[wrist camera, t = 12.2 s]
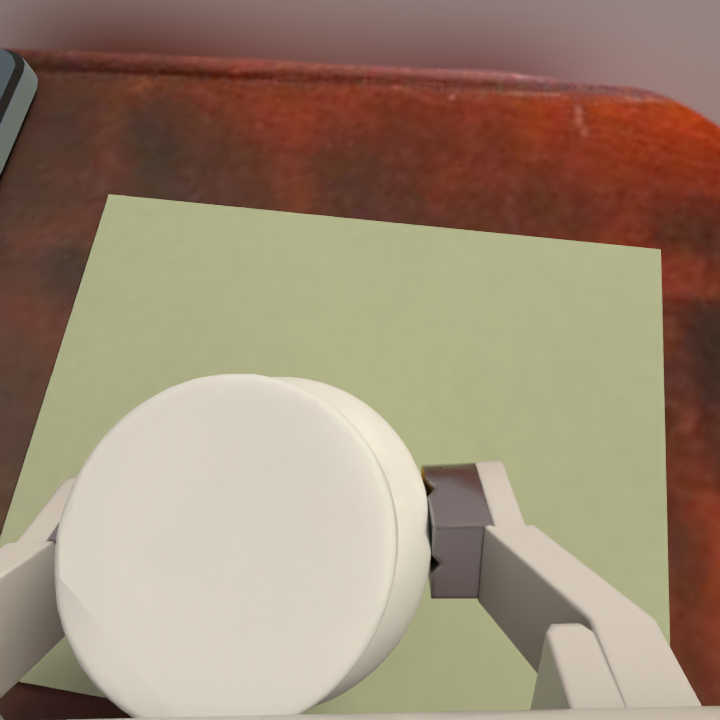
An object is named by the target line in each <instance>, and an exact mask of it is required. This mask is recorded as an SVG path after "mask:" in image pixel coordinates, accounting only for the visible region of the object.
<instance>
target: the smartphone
mask: <svg viewBox="0 0 720 720" xmlns="http://www.w3.org/2000/svg"><path fill="white" fill-rule="evenodd" d="M37 84H38V79H37V76H36V74H35V73H34V72H33V70H32V69H31V68H30V66H29V65H28V64H27V63H26V61H25V60H24V59H23V57H22V56H21V55H20V54H19V53H16V52H13V51H9V50H2V49H0V175H1V172H2V170H3V168H4V165H5V163H6V160H7V158H8V156H9V153H10V151H11V149H12V146H13V144H14V142H15V139H16V137H17V134H18V132H19V130H20V127H21V125H22V123H23V120H24V118H25V116H26V113H27V111H28V109H29V106H30V104H31V101H32V99H33V97H34V94H35V92H36V89H37Z"/></svg>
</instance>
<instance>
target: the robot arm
mask: <svg viewBox="0 0 720 720" xmlns="http://www.w3.org/2000/svg"><path fill="white" fill-rule="evenodd" d="M421 478H422V481H423V484H424V487H425V490H426V495H427V499H428V507H429V517H430V530H431V559H430V568H429V572H428V579H429V586H430V593H431V599H478V601H479V603H480V604H481V605H482V606H483V608H484V609H485V610H486V611H487V612H488V614H489V615H490V616H491V617H492V619H493V620H494V621H495V622H496V623H497V625H498V626H499V627H500V628H501V630H502V631H503V632H504V633H505V634H506V636H507V637H508V638H509V639H510V641H511V642H512V643H513V644H514V645H515V647H516V648H517V649H518V650H519V652H520V653H521V654H522V655H523V656H524V658H525V659H526V660H527V661H528V663H529V664H530V665H531V666H532V668H533V669H534V670H535V671H536V672H537V679H536V684H535V689H534V694H533V698H532V703H531V708H530V710H493V711H445V712H397V713H350V714H303V715H255V716H209V717H162V718H115V719H68V720H720V706H701V704H700V702H699V700H698V698H697V697H696V695H695V693H694V691H693V689H692V687H691V685H690V684H689V682H688V680H687V678H686V676H685V674H684V672H683V671H682V669H681V667H680V665H679V663H678V661H677V660H676V658H675V656H674V654H673V652H672V650H671V648H670V647H669V645H668V643H667V641H666V639H665V637H664V636H663V634H662V632H661V630H660V628H659V626H658V624H657V623H656V621H655V619H654V618H652V617H651V616H650V615H648V614H647V613H646V612H645V611H643V610H642V609H641V608H639V607H638V606H637V605H636V604H634V603H633V602H632V601H630V600H629V599H628V598H627V597H625V596H624V595H623V594H622V593H620V592H619V591H618V590H616V589H615V588H614V587H613V586H611V585H610V584H609V583H607V582H606V581H605V580H604V579H602V578H601V577H600V576H598V575H597V574H596V573H595V572H593V571H592V570H591V569H589V568H588V567H587V566H586V565H584V564H583V563H582V562H581V561H579V560H578V559H577V558H575V557H574V556H573V555H572V554H570V553H569V552H568V551H566V550H565V549H564V548H563V547H561V546H560V545H559V544H557V543H556V542H555V541H554V540H552V539H551V538H550V537H549V536H547V535H546V534H545V533H543V532H542V531H541V530H540V529H538V528H537V527H536V526H534V525H525V522H524V520H523V517H522V514H521V512H520V509H519V506H518V503H517V501H516V498H515V495H514V493H513V490H512V487H511V485H510V482H509V479H508V476H507V474H506V471H505V468H504V466H503V464H502V463H501V462H500V461H483V462H473V463H452V464H430V465H422V467H421ZM75 479H76V477H71V478H69V479H67V480H65V481H63V482H62V484H61V485H60V486H59V488H58V489H57V490H56V491H55V493H54V494H53V495H52V497H51V498H50V499H49V501H48V502H47V503H46V504H45V506H44V507H43V508H42V510H41V511H40V512H39V514H38V515H37V516H36V517H35V519H34V520H33V521H32V523H31V524H30V525H29V527H28V528H27V529H26V530H25V532H24V533H23V534H22V536H21V537H20V538H19V540H18V541H17V542H16V543H7V544H5V545H4V546H2V547H0V699H1V698H2V697H3V696H4V695H5V694H6V693H7V692H8V691H9V690H10V689H11V688H12V687H13V686H14V685H15V684H16V683H17V682H18V681H19V680H20V679H21V678H22V677H23V676H24V675H25V674H26V673H27V672H28V671H29V670H30V669H31V668H33V667H34V666H35V665H36V664H37V663H38V662H39V661H40V660H41V659H42V658H43V657H44V656H45V655H46V654H47V653H48V652H49V651H50V650H51V649H52V648H53V647H54V646H55V645H56V644H57V643H58V642H59V641H60V640H61V639H62V638H63V637H64V636H65V633H64V631H63V628H62V624H61V620H60V616H59V613H58V609H57V603H56V590H55V577H54V554H55V543H56V537H57V531H58V527H59V523H60V519H61V515H62V512H63V509H64V505H65V502H66V500H67V498H68V495H69V493H70V490H71V487H72V485H73V483H74V481H75ZM0 720H4V719H3V718H2V716H1V715H0Z"/></svg>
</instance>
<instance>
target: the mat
mask: <svg viewBox="0 0 720 720" xmlns="http://www.w3.org/2000/svg"><path fill="white" fill-rule="evenodd" d="M221 374H258V375H262V376H267V377H295V378H303V379H309V380H313V381H318V382H322V383H325V384H328V385H331V386H334V387H336V388H339V389H341V390H343V391H345V392H347V393H349V394H351V395H353V396H354V397H356V398H358V399H359V400H361V401H362V402H364V403H365V404H367V405H368V406H370V407H371V408H372V409H373V410H374V411H376V412H377V413H378V414H379V415H380V416H381V417H382V418H383V419H384V420H385V421H386V422H387V423H388V424H389V425H390V426H391V427H392V428H393V429H394V431H395V432H396V433H397V434H398V436H399V437H400V439H401V440H402V441H403V443H404V444H405V445H406V447H407V449H408V450H409V452H410V454H411V456H412V458H413V460H414V462H415V464H416V466H417V468H418V470H419V473H420V475H421V467H422V465H430V464H452V463H473V462H483V461H500V462H501V463H502V464H503V466H504V468H505V471H506V474H507V476H508V479H509V482H510V485H511V487H512V490H513V493H514V495H515V498H516V501H517V503H518V506H519V509H520V512H521V514H522V517H523V520H524V522H525V525H534V526H536V527H537V528H538V529H540V530H541V531H542V532H543V533H545V534H546V535H547V536H549V537H550V538H551V539H552V540H554V541H555V542H556V543H557V544H559V545H560V546H561V547H563V548H564V549H565V550H566V551H568V552H569V553H570V554H572V555H573V556H574V557H575V558H577V559H578V560H579V561H581V562H582V563H583V564H584V565H586V566H587V567H588V568H589V569H591V570H592V571H593V572H595V573H596V574H597V575H598V576H600V577H601V578H602V579H604V580H605V581H606V582H607V583H609V584H610V585H611V586H613V587H614V588H615V589H616V590H618V591H619V592H620V593H622V594H623V595H624V596H625V597H627V598H628V599H629V600H630V601H632V602H633V603H634V604H636V605H637V606H638V607H639V608H641V609H642V610H643V611H645V612H646V613H647V614H648V615H650V616H651V617H652V618H654V619H655V621H656V623H657V624H658V626H659V628H660V630H661V632H662V634H663V636H664V637H665V639H666V641H667V643H668V645H669V647H670V627H669V584H668V540H667V497H666V454H665V410H664V367H663V323H662V280H661V250H660V249H650V248H640V247H630V246H620V245H610V244H600V243H590V242H580V241H570V240H560V239H550V238H540V237H530V236H520V235H510V234H500V233H490V232H480V231H470V230H460V229H450V228H440V227H430V226H420V225H410V224H400V223H390V222H380V221H370V220H360V219H350V218H340V217H330V216H320V215H310V214H300V213H290V212H280V211H270V210H260V209H250V208H240V207H230V206H220V205H210V204H200V203H190V202H180V201H170V200H160V199H150V198H140V197H130V196H120V195H110V194H109V195H108V198H107V201H106V205H105V208H104V211H103V214H102V217H101V220H100V224H99V227H98V230H97V233H96V236H95V239H94V243H93V246H92V249H91V252H90V255H89V258H88V262H87V265H86V268H85V271H84V274H83V277H82V280H81V284H80V287H79V290H78V293H77V296H76V299H75V303H74V306H73V309H72V312H71V315H70V318H69V322H68V325H67V328H66V331H65V334H64V337H63V341H62V344H61V347H60V350H59V353H58V356H57V360H56V363H55V366H54V369H53V372H52V375H51V378H50V382H49V385H48V388H47V391H46V394H45V397H44V401H43V404H42V407H41V410H40V413H39V416H38V420H37V423H36V426H35V429H34V432H33V435H32V439H31V442H30V445H29V448H28V451H27V454H26V458H25V461H24V464H23V467H22V470H21V473H20V477H19V480H18V483H17V486H16V489H15V492H14V495H13V499H12V502H11V505H10V508H9V511H8V514H7V518H6V521H5V524H4V527H3V530H2V533H1V537H0V547H2V546H4V545H5V544H7V543H16V542H17V541H18V540H19V538H20V537H21V536H22V534H23V533H24V532H25V530H26V529H27V528H28V527H29V525H30V524H31V523H32V521H33V520H34V519H35V517H36V516H37V515H38V514H39V512H40V511H41V510H42V508H43V507H44V506H45V504H46V503H47V502H48V501H49V499H50V498H51V497H52V495H53V494H54V493H55V491H56V490H57V489H58V488H59V486H60V485H61V484H62V482H63V481H65V480H67V479H69V478H71V477H77V475H78V474H79V472H80V470H81V468H82V466H83V465H84V463H85V462H86V460H87V459H88V457H89V456H90V454H91V452H92V451H93V449H94V448H95V447H96V446H97V444H98V443H99V442H100V441H101V440H102V439H103V437H104V436H105V435H106V434H107V433H108V432H109V431H110V430H111V429H112V428H113V427H114V426H115V425H116V424H117V423H118V422H119V421H120V420H121V419H122V418H123V417H124V416H125V415H127V414H128V413H129V412H130V411H132V410H133V409H134V408H135V407H137V406H138V405H140V404H142V403H143V402H145V401H146V400H148V399H150V398H151V397H153V396H155V395H157V394H158V393H160V392H162V391H164V390H166V389H168V388H170V387H173V386H175V385H178V384H181V383H184V382H187V381H190V380H193V379H196V378H201V377H207V376H213V375H221ZM536 679H537V672H536V671H535V670H534V669H533V668H532V666H531V665H530V664H529V663H528V661H527V660H526V659H525V658H524V656H523V655H522V654H521V653H520V652H519V650H518V649H517V648H516V647H515V645H514V644H513V643H512V642H511V641H510V639H509V638H508V637H507V636H506V634H505V633H504V632H503V631H502V630H501V628H500V627H499V626H498V625H497V623H496V622H495V621H494V620H493V619H492V617H491V616H490V615H489V614H488V612H487V611H486V610H485V609H484V608H483V606H482V605H481V604H480V603H479V601H478V599H431V593H430V586H429V579H428V577H427V581H426V585H425V589H424V593H423V596H422V598H421V601H420V603H419V606H418V608H417V610H416V613H415V615H414V617H413V619H412V621H411V623H410V625H409V627H408V629H407V630H406V632H405V634H404V635H403V637H402V639H401V640H400V642H399V643H398V644H397V646H396V647H395V648H394V649H393V651H392V652H391V653H390V654H389V656H388V657H387V658H386V659H385V660H384V661H383V662H382V663H381V664H380V666H379V667H378V668H377V669H376V670H374V671H373V672H372V673H371V674H370V675H369V676H367V677H366V678H365V679H364V680H362V681H361V682H360V683H358V684H357V685H356V686H354V687H353V688H351V689H349V690H348V691H346V692H345V693H343V694H341V695H339V696H337V697H336V698H334V699H332V700H329V701H327V702H324V703H322V704H320V705H316V706H314V707H312V708H311V709H309V710H307V711H306V712H304V713H302V714H301V715H303V714H350V713H397V712H445V711H493V710H530V708H531V703H532V698H533V694H534V689H535V684H536ZM18 682H23V683H28V684H34V685H39V686H44V687H50V688H55V689H60V690H66V691H71V692H76V693H82V694H87V695H92V696H98V697H103V698H107V697H106V696H105V695H104V694H103V693H102V692H101V691H100V690H99V689H98V688H97V687H96V686H95V685H94V684H93V682H92V681H91V680H90V678H89V677H88V676H87V674H86V673H85V672H84V670H83V669H82V668H81V666H80V665H79V663H78V661H77V659H76V657H75V655H74V653H73V651H72V649H71V647H70V645H69V643H68V641H67V639H66V636H64V637H63V638H62V639H61V640H60V641H59V642H58V643H57V644H56V645H55V646H54V647H53V648H52V649H51V650H50V651H49V652H48V653H47V654H46V655H45V656H44V657H43V658H42V659H41V660H40V661H39V662H38V663H37V664H36V665H35V666H34V667H33V668H31V669H30V670H29V671H28V672H27V673H26V674H25V675H24V676H23V677H22V678H21V679H20V680H19V681H18Z"/></svg>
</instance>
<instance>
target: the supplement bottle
mask: <svg viewBox="0 0 720 720" xmlns="http://www.w3.org/2000/svg"><path fill="white" fill-rule="evenodd" d="M430 559H431V530H430V517H429V507H428V499H427V495H426V490H425V487H424V484H423V481H422V478H421V475H420V473H419V470H418V468H417V466H416V464H415V462H414V460H413V458H412V456H411V454H410V452H409V450H408V449H407V447H406V445H405V444H404V443H403V441H402V440H401V439H400V437H399V436H398V434H397V433H396V432H395V431H394V429H393V428H392V427H391V426H390V425H389V424H388V423H387V422H386V421H385V420H384V419H383V418H382V417H381V416H380V415H379V414H378V413H377V412H376V411H374V410H373V409H372V408H371V407H370V406H368V405H367V404H365V403H364V402H362V401H361V400H359V399H358V398H356V397H354V396H353V395H351V394H349V393H347V392H345V391H343V390H341V389H339V388H336V387H334V386H331V385H328V384H325V383H322V382H318V381H313V380H309V379H303V378H295V377H267V376H262V375H258V374H221V375H213V376H207V377H201V378H196V379H193V380H190V381H187V382H184V383H181V384H178V385H175V386H173V387H170V388H168V389H166V390H164V391H162V392H160V393H158V394H157V395H155V396H153V397H151V398H150V399H148V400H146V401H145V402H143V403H142V404H140V405H138V406H137V407H135V408H134V409H133V410H132V411H130V412H129V413H128V414H127V415H125V416H124V417H123V418H122V419H121V420H120V421H119V422H118V423H117V424H116V425H115V426H114V427H113V428H112V429H111V430H110V431H109V432H108V433H107V434H106V435H105V436H104V437H103V439H102V440H101V441H100V442H99V443H98V444H97V446H96V447H95V448H94V449H93V451H92V452H91V454H90V456H89V457H88V459H87V460H86V462H85V463H84V465H83V466H82V468H81V470H80V472H79V474H78V475H77V477H76V479H75V481H74V483H73V485H72V487H71V490H70V493H69V495H68V498H67V500H66V502H65V505H64V509H63V512H62V515H61V519H60V523H59V527H58V531H57V537H56V543H55V554H54V577H55V590H56V603H57V609H58V613H59V616H60V620H61V624H62V628H63V631H64V633H65V636H66V639H67V641H68V643H69V645H70V647H71V649H72V651H73V653H74V655H75V657H76V659H77V661H78V663H79V665H80V666H81V668H82V669H83V670H84V672H85V673H86V674H87V676H88V677H89V678H90V680H91V681H92V682H93V684H94V685H95V686H96V687H97V688H98V689H99V690H100V691H101V692H102V693H103V694H104V695H105V696H106V697H107V698H108V699H109V700H110V701H111V702H112V703H114V704H115V705H116V706H117V707H119V708H120V709H121V710H122V711H124V712H125V713H127V714H128V715H129V716H131V717H132V718H162V717H209V716H255V715H301V714H302V713H304V712H306V711H307V710H309V709H311V708H312V707H314V706H316V705H320V704H322V703H324V702H327V701H329V700H332V699H334V698H336V697H337V696H339V695H341V694H343V693H345V692H346V691H348V690H349V689H351V688H353V687H354V686H356V685H357V684H358V683H360V682H361V681H362V680H364V679H365V678H366V677H367V676H369V675H370V674H371V673H372V672H373V671H374V670H376V669H377V668H378V667H379V666H380V664H381V663H382V662H383V661H384V660H385V659H386V658H387V657H388V656H389V654H390V653H391V652H392V651H393V649H394V648H395V647H396V646H397V644H398V643H399V642H400V640H401V639H402V637H403V635H404V634H405V632H406V630H407V629H408V627H409V625H410V623H411V621H412V619H413V617H414V615H415V613H416V610H417V608H418V606H419V603H420V601H421V598H422V596H423V593H424V589H425V585H426V581H427V577H428V572H429V568H430Z"/></svg>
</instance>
